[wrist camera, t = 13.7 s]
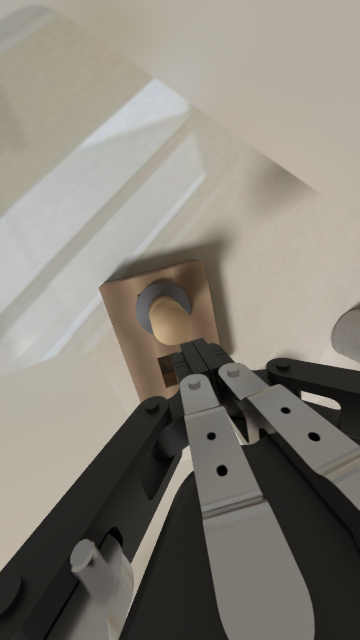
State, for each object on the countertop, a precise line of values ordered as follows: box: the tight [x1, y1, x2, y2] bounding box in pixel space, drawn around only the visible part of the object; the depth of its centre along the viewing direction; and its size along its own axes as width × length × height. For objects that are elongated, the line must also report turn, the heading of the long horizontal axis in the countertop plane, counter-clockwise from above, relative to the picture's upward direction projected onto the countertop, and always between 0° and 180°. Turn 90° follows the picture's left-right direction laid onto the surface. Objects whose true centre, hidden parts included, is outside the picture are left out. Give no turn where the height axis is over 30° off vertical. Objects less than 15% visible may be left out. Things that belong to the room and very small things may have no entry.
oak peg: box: [136, 282, 192, 345], centre depth 25 cm, size 7×7×11 cm
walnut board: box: [99, 260, 220, 402], centre depth 30 cm, size 13×18×4 cm
